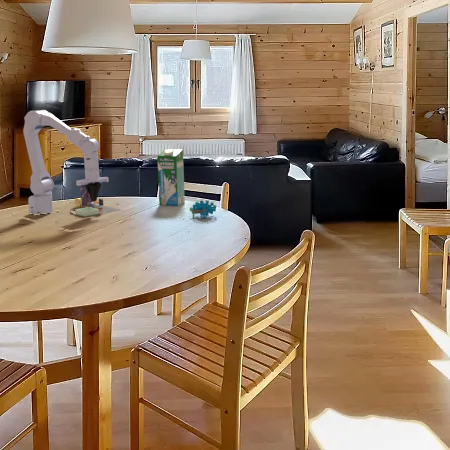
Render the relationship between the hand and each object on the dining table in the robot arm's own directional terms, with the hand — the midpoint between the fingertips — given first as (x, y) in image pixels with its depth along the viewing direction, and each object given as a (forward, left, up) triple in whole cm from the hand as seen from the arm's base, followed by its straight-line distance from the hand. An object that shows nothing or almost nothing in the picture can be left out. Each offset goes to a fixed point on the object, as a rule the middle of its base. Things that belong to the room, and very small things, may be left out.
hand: (93, 200), depth 256 cm
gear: (+29, -36, -7) cm, 47 cm away
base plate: (+4, +7, -7) cm, 10 cm away
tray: (-2, +3, -6) cm, 7 cm away
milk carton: (+39, -3, -7) cm, 40 cm away
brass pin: (-1, +12, -6) cm, 13 cm away
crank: (+3, +4, -3) cm, 7 cm away
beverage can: (+11, +23, -7) cm, 26 cm away
